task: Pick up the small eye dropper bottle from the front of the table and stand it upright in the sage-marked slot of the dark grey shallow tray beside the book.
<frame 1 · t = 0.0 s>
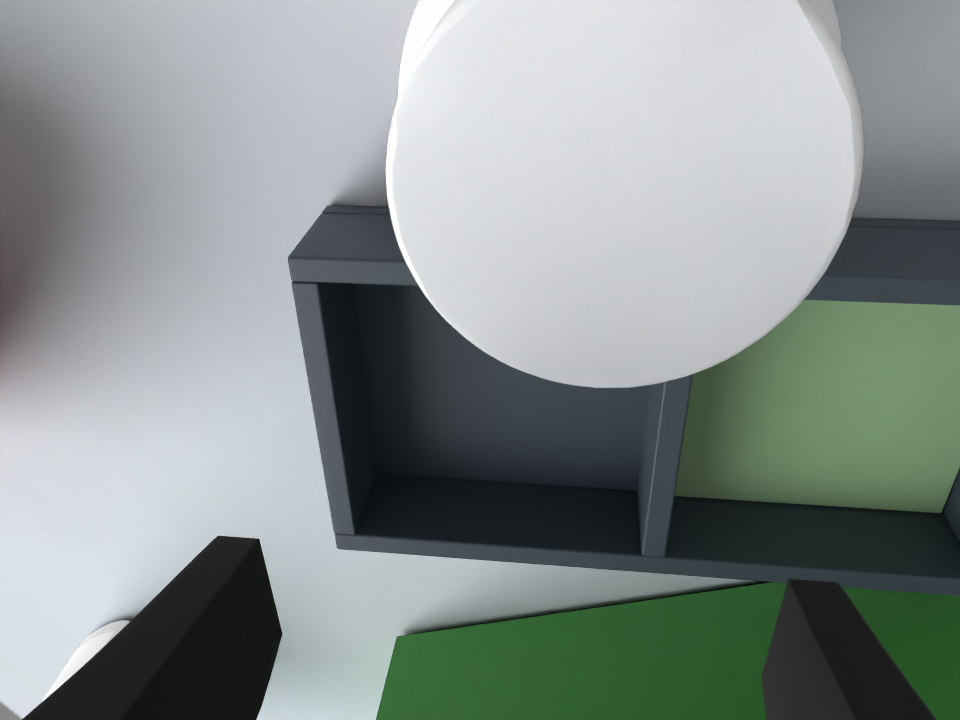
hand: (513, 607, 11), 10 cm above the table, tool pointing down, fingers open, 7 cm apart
hardback book: (672, 667, 27), on the table
eye dropper bottle: (127, 653, 30), on the table
dark grey shallow tray: (659, 370, 20), on the table
pill bottle: (603, 18, 16), on the table
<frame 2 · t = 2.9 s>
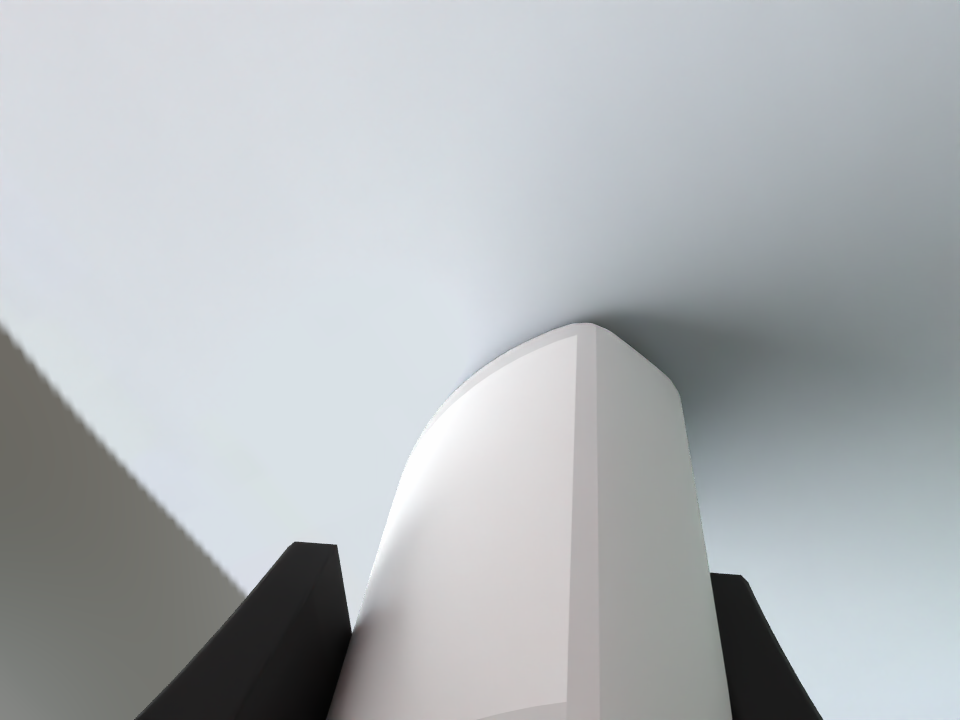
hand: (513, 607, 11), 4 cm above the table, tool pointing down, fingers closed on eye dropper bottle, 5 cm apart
eye dropper bottle: (530, 431, 14), on the table, touching gripper
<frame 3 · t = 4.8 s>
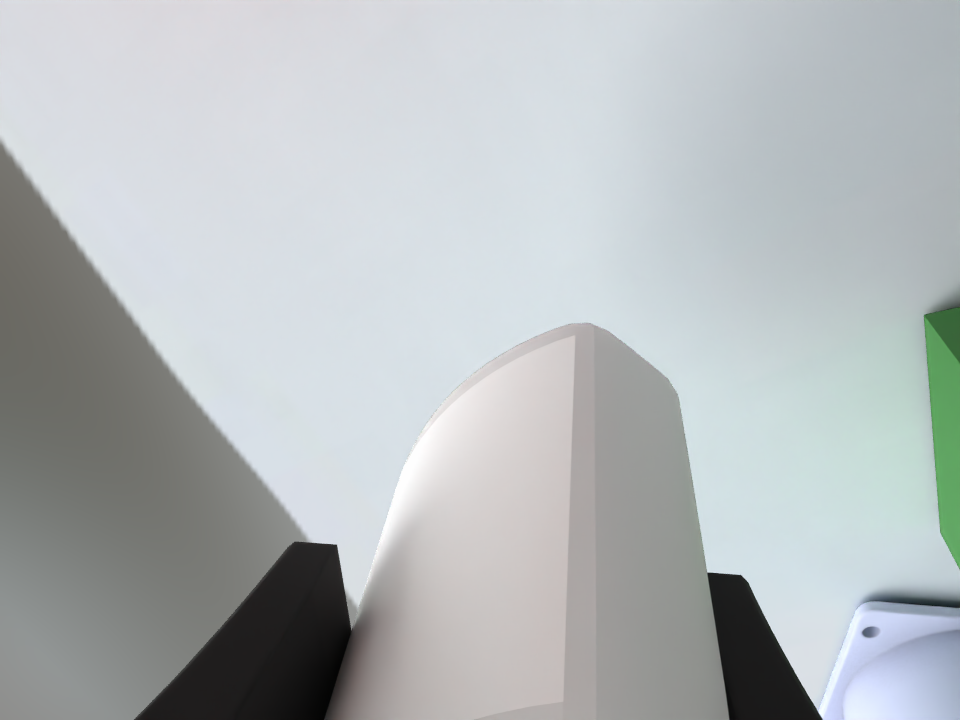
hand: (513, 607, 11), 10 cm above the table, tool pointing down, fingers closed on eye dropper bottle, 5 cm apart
eye dropper bottle: (528, 431, 14), point 6 cm above the table, touching gripper
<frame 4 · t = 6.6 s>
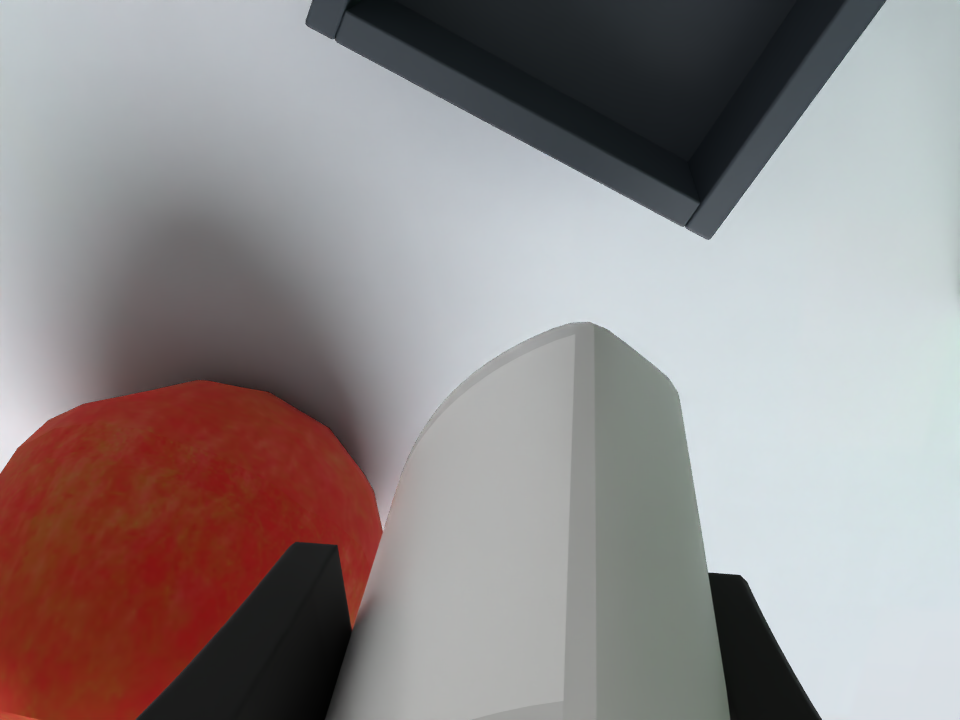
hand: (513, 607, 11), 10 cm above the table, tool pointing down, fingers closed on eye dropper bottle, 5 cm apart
eye dropper bottle: (529, 431, 14), point 6 cm above the table, touching gripper
apple: (242, 473, 25), on the table
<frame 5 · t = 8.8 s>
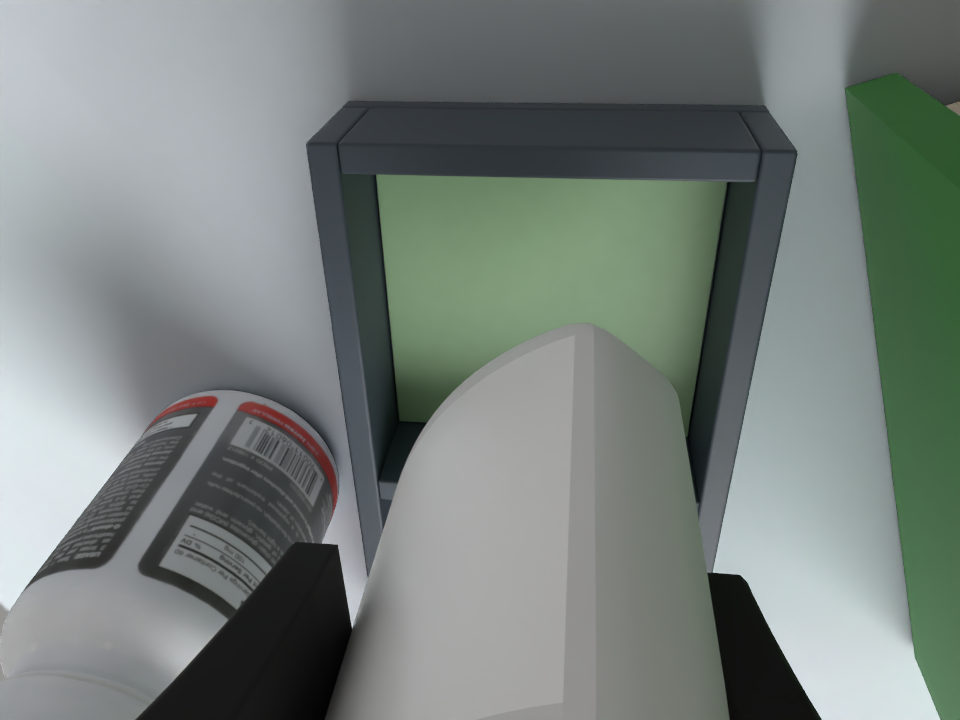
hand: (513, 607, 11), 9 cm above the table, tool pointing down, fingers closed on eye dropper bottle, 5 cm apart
eye dropper bottle: (528, 431, 14), point 5 cm above the table, touching gripper
dark grey shallow tray: (541, 423, 21), on the table
pill bottle: (252, 457, 23), on the table
when the fingers open (4 cm above the table, at t = 10.6 s): eye dropper bottle stays where it is, resting on dark grey shallow tray.
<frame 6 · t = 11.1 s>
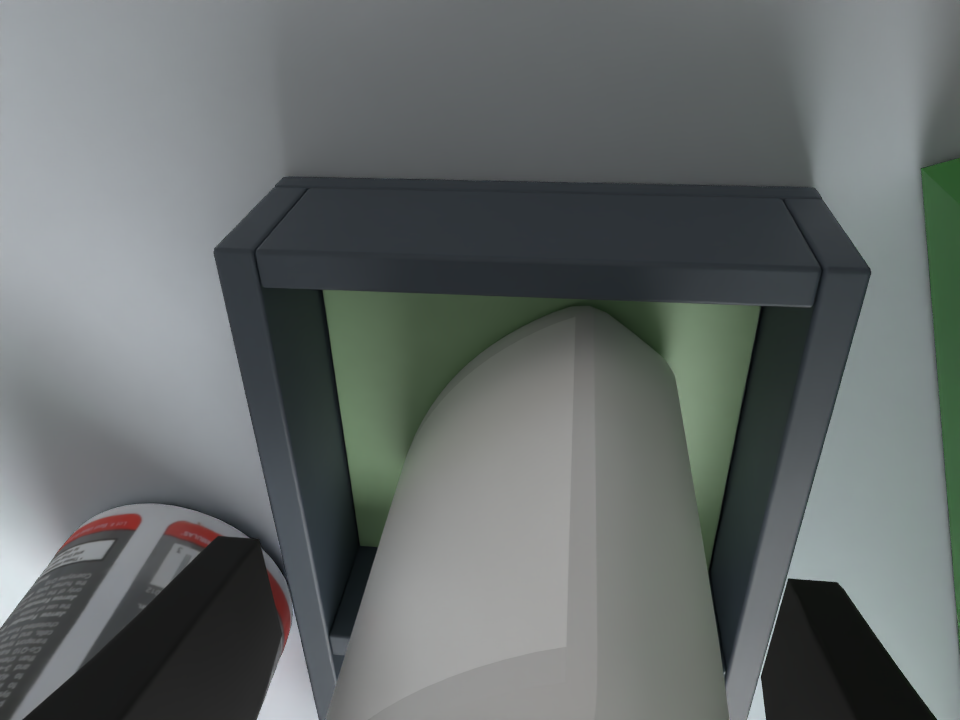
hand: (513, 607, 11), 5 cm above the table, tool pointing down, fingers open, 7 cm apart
eye dropper bottle: (530, 413, 15), point 1 cm above the table, touching dark grey shallow tray
dark grey shallow tray: (531, 546, 17), on the table
pill bottle: (191, 572, 19), on the table
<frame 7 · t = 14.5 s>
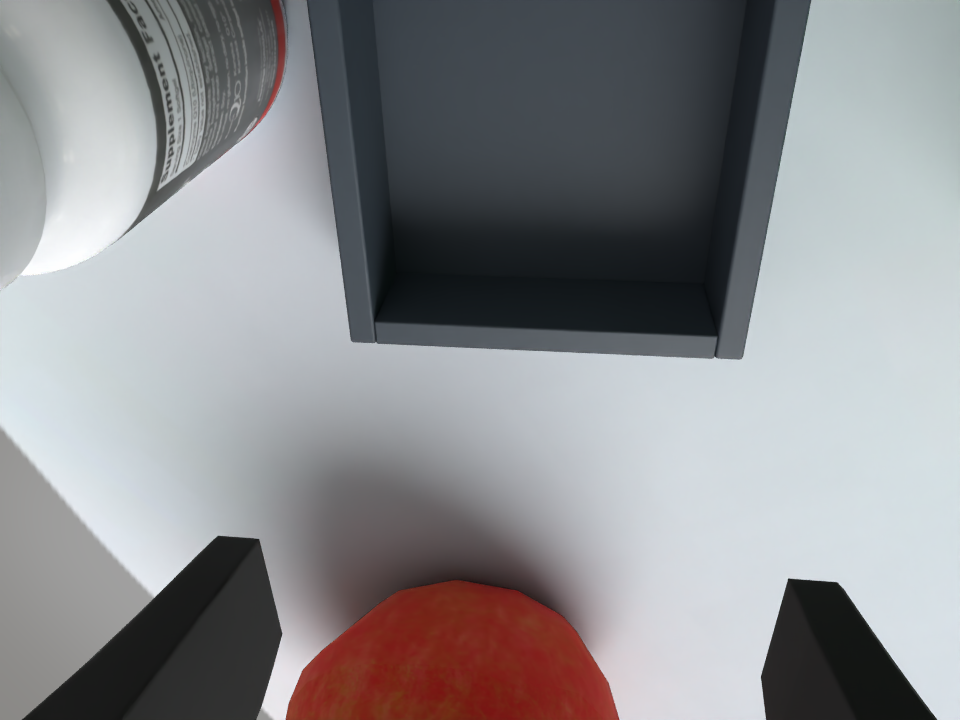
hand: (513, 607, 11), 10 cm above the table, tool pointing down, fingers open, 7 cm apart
apple: (468, 644, 28), on the table
pill bottle: (175, 17, 17), on the table
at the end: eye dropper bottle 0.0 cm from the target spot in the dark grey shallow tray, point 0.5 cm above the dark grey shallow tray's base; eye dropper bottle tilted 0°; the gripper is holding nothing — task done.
